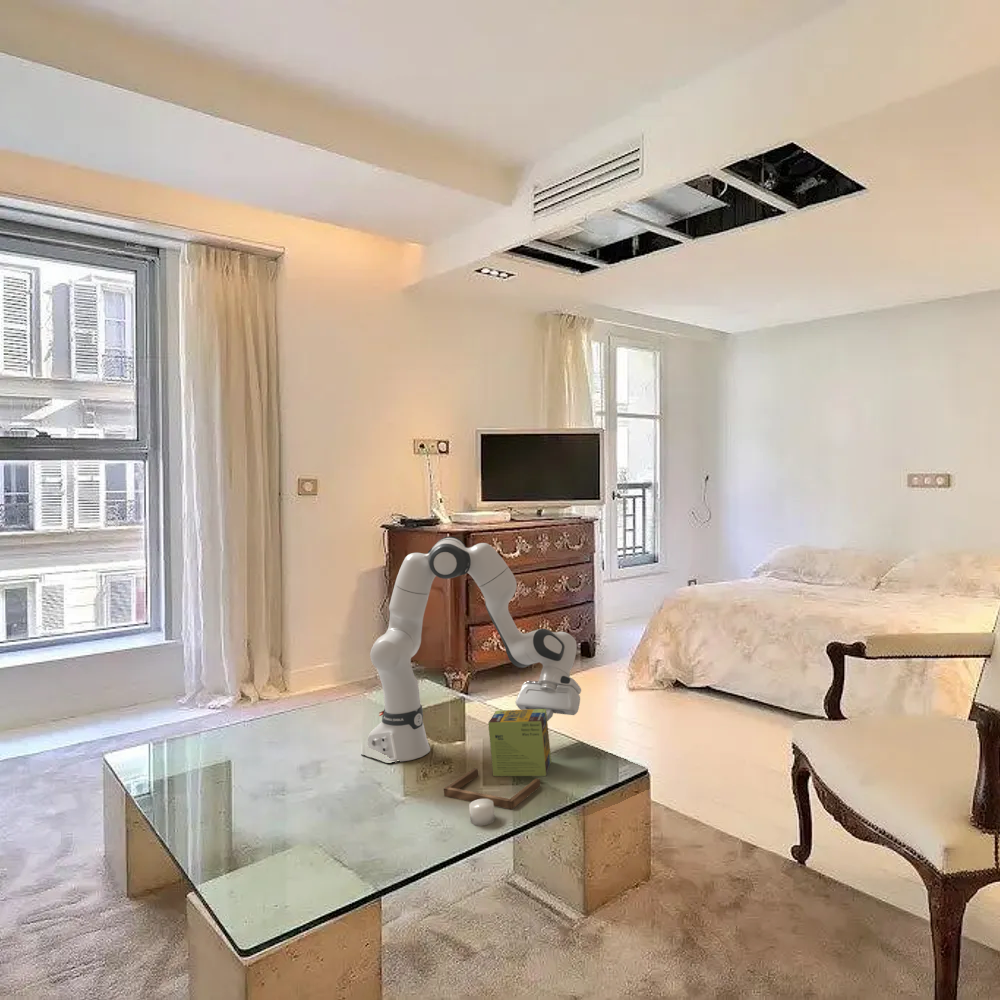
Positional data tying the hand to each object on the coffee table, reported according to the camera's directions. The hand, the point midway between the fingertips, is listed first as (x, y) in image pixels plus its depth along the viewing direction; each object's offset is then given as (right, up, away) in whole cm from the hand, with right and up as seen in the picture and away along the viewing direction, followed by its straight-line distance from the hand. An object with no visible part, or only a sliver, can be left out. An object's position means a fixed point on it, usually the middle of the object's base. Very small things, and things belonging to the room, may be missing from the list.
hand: (540, 724), depth 218 cm
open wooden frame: (-14, -11, -22) cm, 28 cm away
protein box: (-6, -10, -9) cm, 15 cm away
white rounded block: (-16, -12, -38) cm, 43 cm away
